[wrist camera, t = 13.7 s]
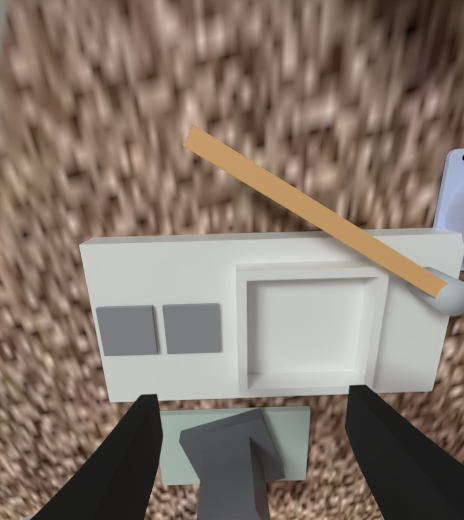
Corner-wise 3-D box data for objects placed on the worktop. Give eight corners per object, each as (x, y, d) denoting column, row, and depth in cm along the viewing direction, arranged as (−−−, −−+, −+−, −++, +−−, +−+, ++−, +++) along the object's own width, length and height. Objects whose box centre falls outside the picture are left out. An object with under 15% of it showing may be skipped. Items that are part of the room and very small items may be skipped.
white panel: (444, 227, 19) (491, 238, 16) (414, 372, 23) (447, 407, 19) (94, 237, 19) (65, 251, 15) (120, 382, 22) (101, 419, 19)
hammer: (445, 276, 18) (483, 293, 15) (424, 300, 18) (457, 322, 15) (202, 124, 15) (197, 113, 12) (185, 158, 15) (177, 155, 13)
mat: (308, 405, 23) (310, 410, 23) (303, 474, 26) (305, 479, 25) (155, 411, 23) (153, 416, 23) (164, 479, 26) (163, 485, 25)
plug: (259, 407, 23) (271, 486, 17) (283, 466, 25) (300, 554, 19) (180, 430, 23) (165, 514, 18) (210, 486, 25) (205, 577, 20)
